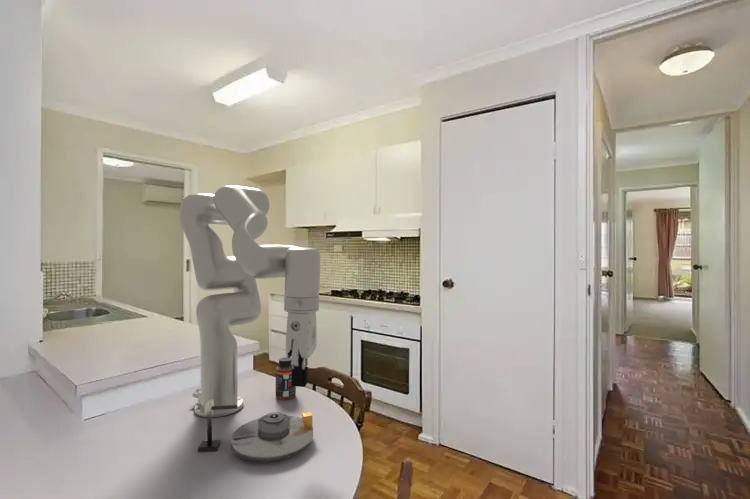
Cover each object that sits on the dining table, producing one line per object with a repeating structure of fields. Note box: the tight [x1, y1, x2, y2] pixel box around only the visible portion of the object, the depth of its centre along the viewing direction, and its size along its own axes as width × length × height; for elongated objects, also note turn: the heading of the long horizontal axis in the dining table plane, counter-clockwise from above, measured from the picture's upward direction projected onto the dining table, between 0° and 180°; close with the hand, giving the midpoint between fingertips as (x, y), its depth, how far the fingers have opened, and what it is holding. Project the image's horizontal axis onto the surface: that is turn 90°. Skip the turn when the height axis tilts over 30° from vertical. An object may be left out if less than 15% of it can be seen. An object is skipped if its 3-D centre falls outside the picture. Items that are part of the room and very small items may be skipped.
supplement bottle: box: [275, 356, 297, 401], centre depth 116 cm, size 6×6×11 cm
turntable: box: [230, 411, 314, 462], centre depth 89 cm, size 18×18×4 cm
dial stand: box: [197, 399, 238, 453], centre depth 87 cm, size 8×4×11 cm, turn 97°
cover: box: [258, 411, 290, 441], centre depth 89 cm, size 7×7×4 cm
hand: (299, 385), depth 87 cm, fingers closed
